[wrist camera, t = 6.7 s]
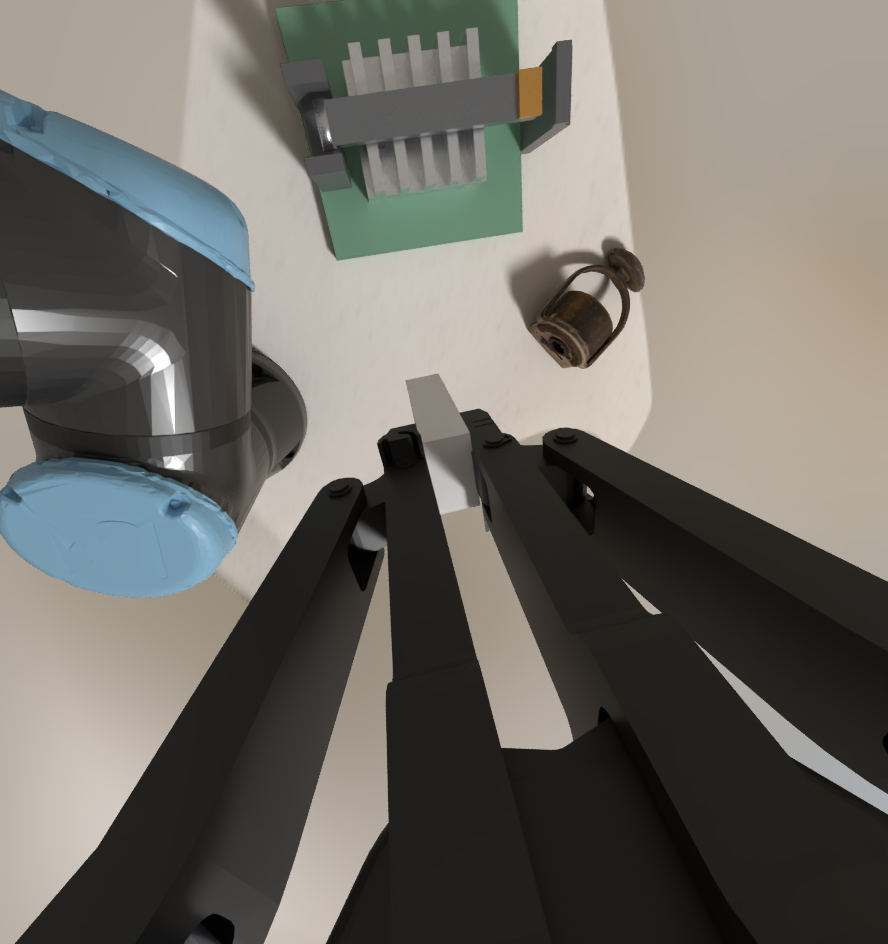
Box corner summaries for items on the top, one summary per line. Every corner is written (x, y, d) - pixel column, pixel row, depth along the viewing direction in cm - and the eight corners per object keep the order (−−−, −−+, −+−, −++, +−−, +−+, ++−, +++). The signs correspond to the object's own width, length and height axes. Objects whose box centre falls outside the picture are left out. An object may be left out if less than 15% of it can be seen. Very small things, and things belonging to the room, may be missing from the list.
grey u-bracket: (322, 192, 33) (308, 176, 26) (301, 105, 30) (279, 63, 23) (352, 187, 33) (345, 170, 26) (334, 100, 30) (321, 58, 24)
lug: (514, 155, 34) (555, 123, 26) (512, 95, 32) (556, 41, 24) (529, 153, 34) (574, 121, 26) (528, 93, 32) (577, 38, 24)
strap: (324, 152, 27) (321, 148, 26) (313, 104, 26) (309, 97, 25) (535, 121, 28) (542, 115, 27) (535, 72, 26) (542, 64, 25)
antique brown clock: (526, 287, 35) (558, 387, 38) (665, 223, 33) (687, 334, 36) (514, 294, 42) (542, 379, 45) (629, 241, 40) (650, 334, 43)
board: (338, 260, 36) (336, 260, 35) (279, 17, 28) (275, 8, 27) (518, 232, 37) (522, 231, 36) (512, -10, 29) (517, -20, 28)
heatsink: (369, 202, 33) (367, 193, 29) (345, 77, 29) (338, 44, 25) (478, 186, 34) (494, 174, 29) (470, 62, 30) (486, 26, 25)
